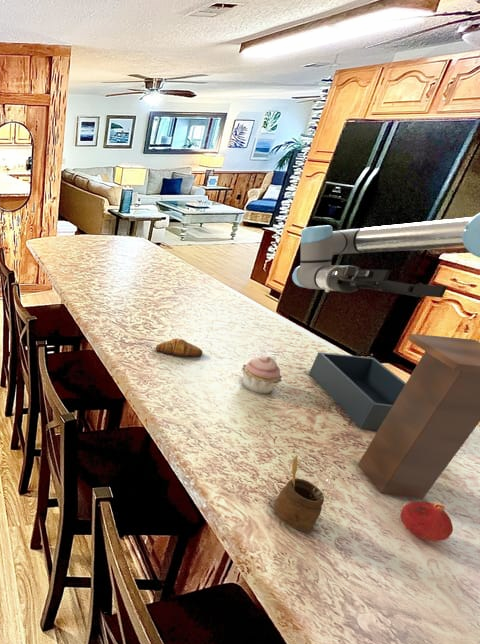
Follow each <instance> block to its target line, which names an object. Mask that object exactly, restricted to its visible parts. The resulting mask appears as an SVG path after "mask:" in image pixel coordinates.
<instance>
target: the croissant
mask: <svg viewBox="0 0 480 644" xmlns="http://www.w3.org/2000/svg"><path fill="white" fill-rule="evenodd" d="M155 351H156V352H158V353H160V354H165V355H171V356H176V357H180V358H182V357H190V358H193V357H195V358H197V357H201V356H202V355H203V350H202V349H201V348H200V347H198V346H196V345H195V344H192V343H191V342H188V341H186V340H185V339H183V338H172V339H171V340H167V341H164V342H160V343H159V344H156V346H155Z"/></svg>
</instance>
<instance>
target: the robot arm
mask: <svg viewBox="0 0 480 644" xmlns="http://www.w3.org/2000/svg"><path fill="white" fill-rule="evenodd" d="M333 229H334V228H333V226H332V225H329V224H327V225H316V226H308V227H307V226H305V227H304V228H302V230H301V233H300V262H299V264H300V265H298V266H296V267H295V268H294V270H293V273H292V275H291V279H292V281H293V283H294V285H296V286H298V287H300V288H305V289H308V290H321V291H324V292H325V293H329V292H331V291H332V292H339V293H347V294H348V293H350V294H351V293H355V292H357V291H359V290H360V289H362V290H373V291H375V292H384V293H385V292H386V293H393V294H397V295H404V296H405V295H406V296H409V297H415V298H422V297H431V298H440V299H442V298H443V297H444V295H445V292H446V290H447V289H448V286H447V285H437V284H425V283H424V284H423V282H418V283H415V284H414V283H413V284H412V283H406V282H400V281H395V280H388V278H389V276H390V273H391V270H389V269H373V268H372V269H370V268H363V269H362V268H360V267H359V266H356V265H340V264H338V265H337V264H332V258H333V256H336V255H345V254H347V255H348V254H364V253H382V252H384V253H385V252H404V251H406V252H407V251H422V250H424V251H425V250H444V249H445V250H447V249H463V248H464V249H466V250H467V251H468V252H469V253H470V254H472V255H473V256H475V257H476V258H478V259H479V258H480V212H479V213H477V214H475V215H474V216H469V217H467V216H466V217H460V218H448V219H440V220H429V221H421V222H420V221H419V222H410V223H400V224H399V223H398V224H391V225H390V224H389V225H381V226H371V227H363V228H362V227H361V228H350V229H341V230H333Z"/></svg>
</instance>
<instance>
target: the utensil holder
mask: <svg viewBox="0 0 480 644" xmlns="http://www.w3.org/2000/svg"><path fill="white" fill-rule="evenodd" d="M298 457H299V455H298V454H296V455H295V456H294V457H293V458H292V465H291V474H292V478H291V479H290V480H289V481H288V482H287V483H286V485H285V486H283V487H282V488H281V490H280V491H279V493H278V495H277V497H276V499H275V502H274V503H273V511H274V514H275V515H276V516H277V518H278V519H279V520H280V521H281V522H282V523H283V524H285V525H286V526H288V527H290V528H291V529H294V530H296V531H302V532H307V531H310V530H311V529H312V528H313V527H314V525H315V524H316V522H317V521H318V519H319V517H320V515H321V513H322V509H323V505H324V502H325V499H327V498H329V497H330V496H331V494H330V493H331V491H327V492H326V493H323V491H324V490H325V489H326V488H327V487H328V486H329V485H332V488H335V484H334V483H332V481H331V480H330V481H328V479H326V478H323V479H322V480H317V481H316V482H315V484H313V482H310V481H308V480H306V479H302V478H296V473H297V471H298ZM322 481H324V482H322ZM326 481H327V482H326ZM323 483H326V484H325V485H324V486H323V487H322V489H320V488H319V487H318V486H319V485H321V484H323ZM334 492H335V490H333V491H332V493H334Z"/></svg>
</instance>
